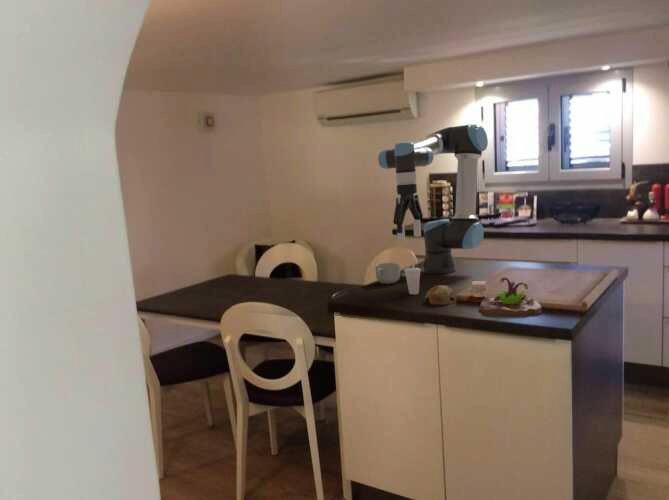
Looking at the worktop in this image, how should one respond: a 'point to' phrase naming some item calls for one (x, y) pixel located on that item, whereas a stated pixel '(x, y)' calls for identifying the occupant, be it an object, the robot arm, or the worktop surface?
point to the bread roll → (440, 295)
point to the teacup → (387, 272)
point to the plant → (511, 303)
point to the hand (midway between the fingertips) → (409, 238)
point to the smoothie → (413, 279)
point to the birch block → (479, 285)
